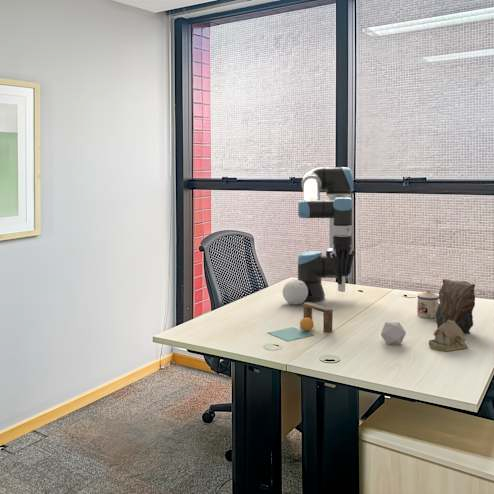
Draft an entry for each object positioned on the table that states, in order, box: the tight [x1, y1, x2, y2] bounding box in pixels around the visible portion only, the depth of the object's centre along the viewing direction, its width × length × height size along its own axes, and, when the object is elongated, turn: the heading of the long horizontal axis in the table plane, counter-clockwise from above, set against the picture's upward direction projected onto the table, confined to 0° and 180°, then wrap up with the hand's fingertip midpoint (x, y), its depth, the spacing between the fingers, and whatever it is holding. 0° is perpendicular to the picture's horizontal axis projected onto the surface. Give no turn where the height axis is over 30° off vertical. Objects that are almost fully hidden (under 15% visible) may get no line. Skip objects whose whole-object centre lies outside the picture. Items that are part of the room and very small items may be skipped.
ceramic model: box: [428, 320, 468, 352], centre depth 203 cm, size 14×11×10 cm
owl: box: [435, 278, 476, 335], centre depth 221 cm, size 13×13×20 cm
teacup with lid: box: [416, 288, 440, 319], centre depth 242 cm, size 12×9×12 cm
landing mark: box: [266, 326, 314, 342], centre depth 220 cm, size 13×13×1 cm
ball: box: [299, 317, 315, 332], centre depth 224 cm, size 6×6×6 cm
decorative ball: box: [282, 279, 308, 306], centre depth 266 cm, size 12×12×12 cm
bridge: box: [302, 302, 334, 334], centre depth 227 cm, size 3×14×9 cm, turn 33°
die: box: [380, 321, 407, 346], centre depth 207 cm, size 8×9×10 cm
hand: (341, 291), depth 233 cm, fingers closed
